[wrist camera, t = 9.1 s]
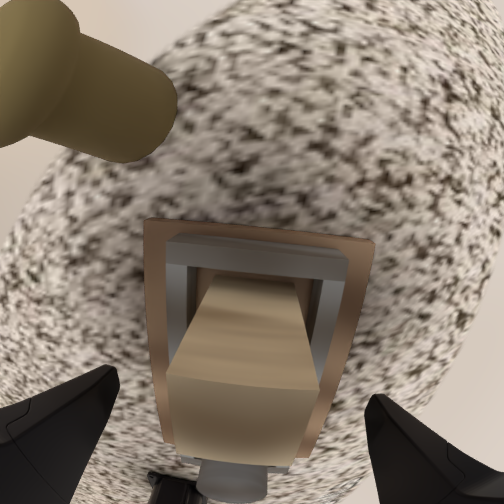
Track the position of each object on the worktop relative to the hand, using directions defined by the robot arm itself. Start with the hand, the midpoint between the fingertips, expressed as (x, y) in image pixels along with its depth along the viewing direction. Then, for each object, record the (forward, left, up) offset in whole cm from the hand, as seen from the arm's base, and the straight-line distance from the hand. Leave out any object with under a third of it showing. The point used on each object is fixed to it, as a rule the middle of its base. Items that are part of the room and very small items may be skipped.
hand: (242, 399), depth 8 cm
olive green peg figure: (+10, +8, -8) cm, 15 cm away
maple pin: (0, 0, -7) cm, 7 cm away
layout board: (-5, 0, -8) cm, 9 cm away
